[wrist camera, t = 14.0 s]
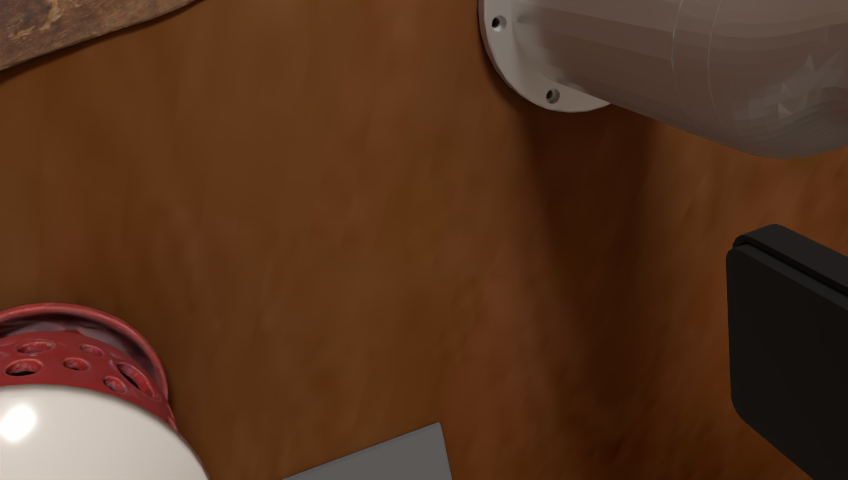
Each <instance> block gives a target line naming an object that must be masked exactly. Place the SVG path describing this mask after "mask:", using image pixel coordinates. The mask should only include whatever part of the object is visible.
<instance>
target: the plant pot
mask: <svg viewBox="0 0 848 480" xmlns="http://www.w3.org/2000/svg"><path fill="white" fill-rule="evenodd" d="M24 384H52V385H67V386H73V387H80V388H86V389H92V390H96V391H99V392H103V393H107V394H110V395H114V396H117V397H119V398H122V399H124V400H127V401H129V402H132V403H134V404H137V405H139V406H141V407H142V408H144V409H146V410H148V411H150V412H151V413H153V414H155V415H157V416H158V417H160V418H161V419H162V420H164V421H165V422H166V423H168V424H169V425H170V426H172V427H173V428H174V429H176V430H177V432H178V433H179V434H180V432H179V429H178V426H177V423H176V420H175V417H174V415H173V412H172V410H171V407H170V405H169V403H168V383H167V378H166V374H165V371H164V368H163V365H162V363H161V361H160V359H159V357H158V355H157V353H156V352H155V350H154V349H153V347H152V346H151V345H150V343H149V342H148V341H147V340H146V339H145V338H144V337H143V336H142V335H141V334H140V333H139V332H138V331H137V330H136V329H135V328H133V327H132V326H131V325H129V324H128V323H126V322H125V321H123V320H121V319H119V318H117V317H115V316H113V315H111V314H108V313H106V312H103V311H101V310H97V309H94V308H90V307H86V306H82V305H77V304H68V303H36V304H28V305H22V306H18V307H14V308H10V309H7V310H4V311H1V312H0V387H1V386H7V385H24Z"/></svg>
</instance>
